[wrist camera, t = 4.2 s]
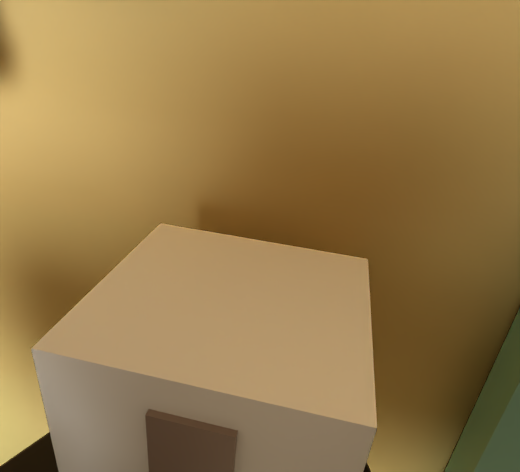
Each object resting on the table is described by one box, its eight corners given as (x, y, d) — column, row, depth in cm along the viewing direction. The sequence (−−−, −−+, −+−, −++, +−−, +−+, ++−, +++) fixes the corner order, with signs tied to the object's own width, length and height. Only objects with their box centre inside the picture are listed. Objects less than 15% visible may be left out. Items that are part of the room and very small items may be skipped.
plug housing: (311, 497, 12) (292, 701, 8) (167, 460, 12) (90, 634, 9) (368, 258, 8) (377, 436, 5) (160, 222, 9) (24, 353, 5)
